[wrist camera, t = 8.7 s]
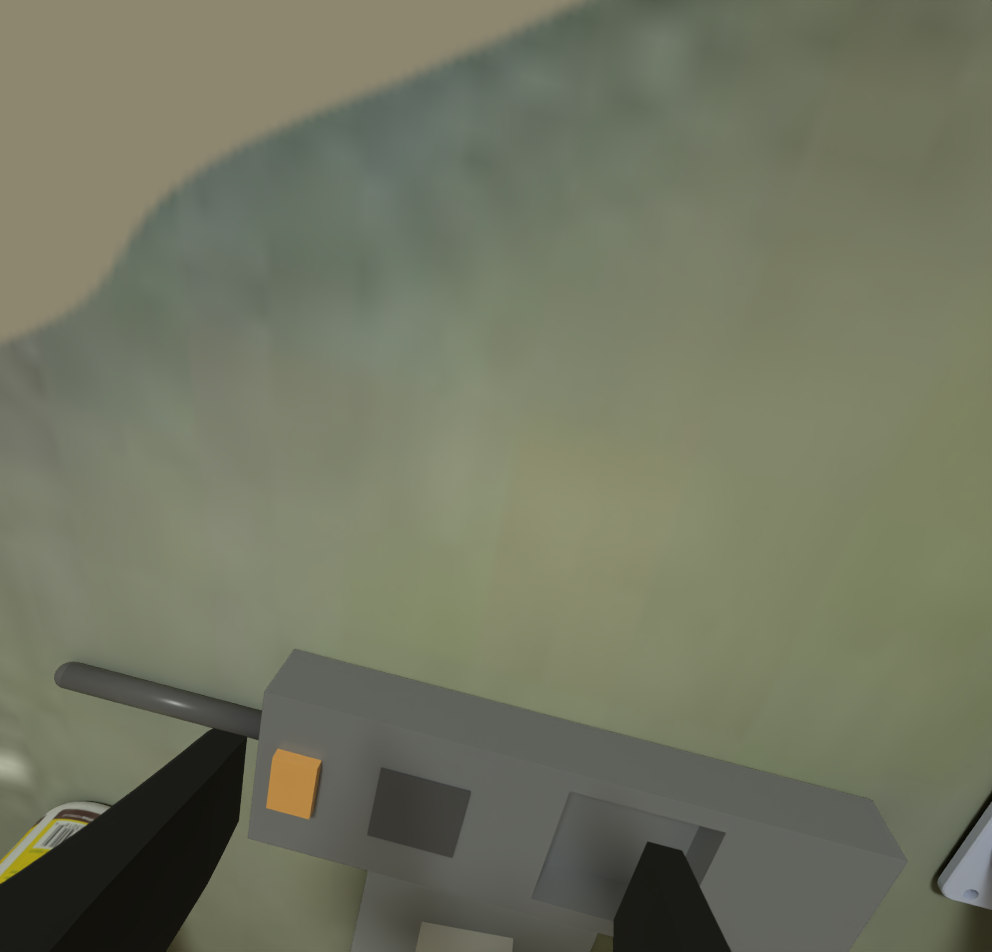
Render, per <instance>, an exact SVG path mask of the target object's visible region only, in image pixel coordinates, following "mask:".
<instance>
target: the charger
mask: <svg viewBox="0 0 992 952" xmlns="http://www.w3.org/2000/svg"><path fill="white" fill-rule="evenodd" d="M512 948H513V938H509V937H503V936H498V935H492V934H487V933H481V932H476V931H470V930H465V929H459V928H454V927H449V926H443V925H438V924H432V923H427V922H422V923H421V928H420V932H419V937H418V942H417V946H416V951H415V952H512Z"/></svg>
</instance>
